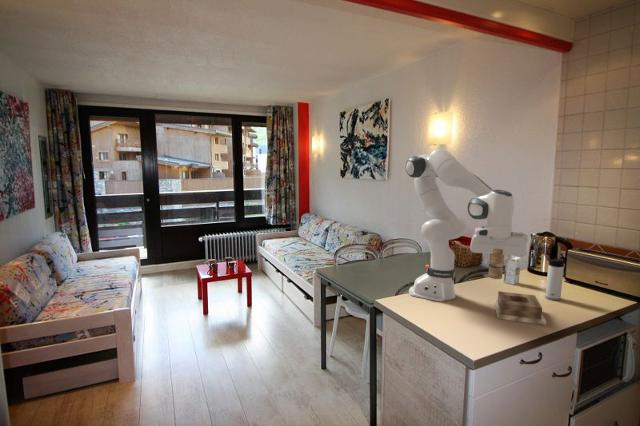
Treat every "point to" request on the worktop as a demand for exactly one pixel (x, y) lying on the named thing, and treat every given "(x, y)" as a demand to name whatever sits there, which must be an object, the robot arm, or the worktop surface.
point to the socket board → (519, 308)
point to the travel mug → (554, 279)
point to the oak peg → (496, 264)
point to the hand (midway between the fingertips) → (496, 264)
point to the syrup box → (512, 270)
